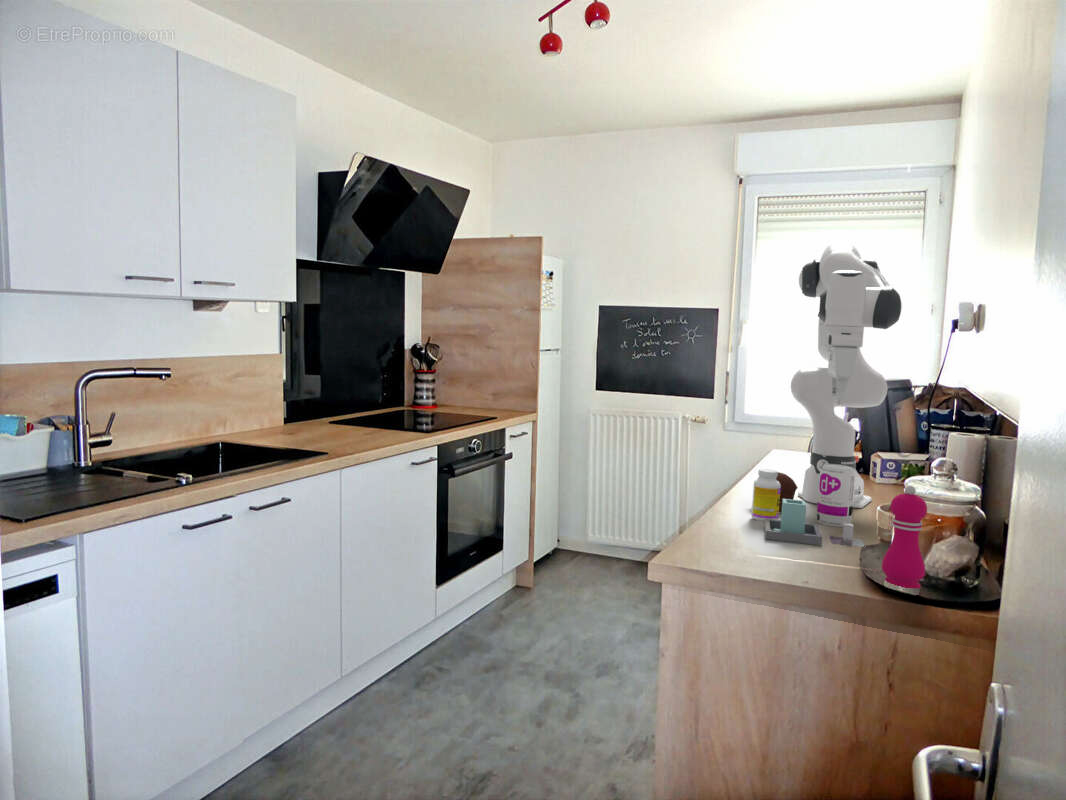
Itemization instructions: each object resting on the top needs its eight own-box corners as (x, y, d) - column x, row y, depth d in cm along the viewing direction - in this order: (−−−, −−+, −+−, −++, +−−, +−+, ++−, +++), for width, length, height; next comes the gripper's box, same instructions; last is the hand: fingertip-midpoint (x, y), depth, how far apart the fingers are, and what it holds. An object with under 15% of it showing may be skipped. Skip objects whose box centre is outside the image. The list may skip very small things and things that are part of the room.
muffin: (743, 505, 205) (746, 469, 204) (774, 503, 209) (777, 468, 208) (772, 515, 194) (775, 478, 193) (805, 512, 198) (807, 476, 197)
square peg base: (829, 537, 173) (830, 519, 173) (861, 541, 171) (862, 522, 171) (832, 545, 166) (833, 526, 166) (865, 549, 165) (867, 529, 164)
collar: (773, 530, 175) (775, 497, 174) (802, 534, 173) (804, 500, 172) (774, 536, 170) (776, 502, 169) (803, 539, 168) (806, 505, 167)
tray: (764, 528, 179) (765, 518, 178) (816, 534, 175) (817, 524, 175) (765, 541, 167) (765, 530, 167) (821, 547, 164) (822, 536, 164)
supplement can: (835, 529, 181) (840, 470, 180) (809, 521, 188) (813, 464, 187) (857, 527, 185) (862, 468, 183) (831, 519, 192) (835, 462, 191)
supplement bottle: (779, 524, 184) (783, 473, 183) (752, 521, 186) (756, 471, 184) (776, 517, 191) (780, 469, 190) (750, 515, 192) (753, 467, 191)
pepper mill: (872, 584, 140) (881, 481, 138) (908, 584, 140) (917, 482, 139) (893, 597, 133) (903, 489, 131) (931, 598, 133) (941, 490, 132)
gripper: (824, 338, 184) (819, 393, 185) (832, 338, 165) (827, 399, 166) (851, 340, 182) (846, 395, 184) (863, 339, 163) (858, 401, 164)
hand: (837, 397), depth 174 cm, fingers open, 8 cm apart
